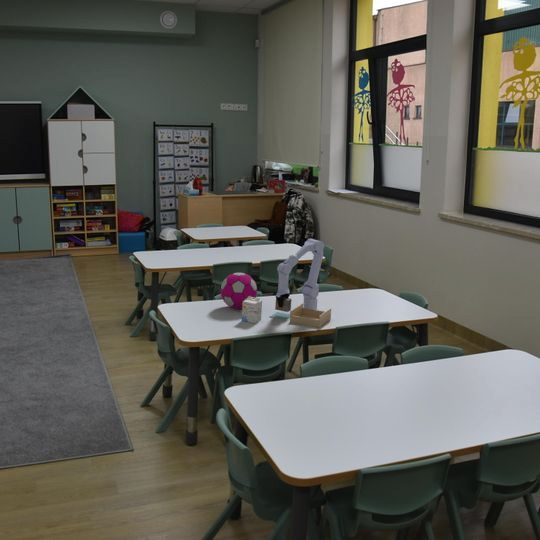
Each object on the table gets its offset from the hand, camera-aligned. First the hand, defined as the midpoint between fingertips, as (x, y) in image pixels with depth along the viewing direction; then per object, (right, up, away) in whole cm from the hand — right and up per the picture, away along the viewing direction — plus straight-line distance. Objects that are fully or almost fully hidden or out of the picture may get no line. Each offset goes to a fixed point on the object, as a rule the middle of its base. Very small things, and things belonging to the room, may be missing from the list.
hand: (282, 306), depth 396 cm
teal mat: (0, -6, +1) cm, 6 cm away
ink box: (-18, -8, -8) cm, 21 cm away
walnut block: (0, -2, 0) cm, 2 cm away
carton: (+16, -8, -6) cm, 19 cm away
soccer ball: (-27, -2, +15) cm, 30 cm away
